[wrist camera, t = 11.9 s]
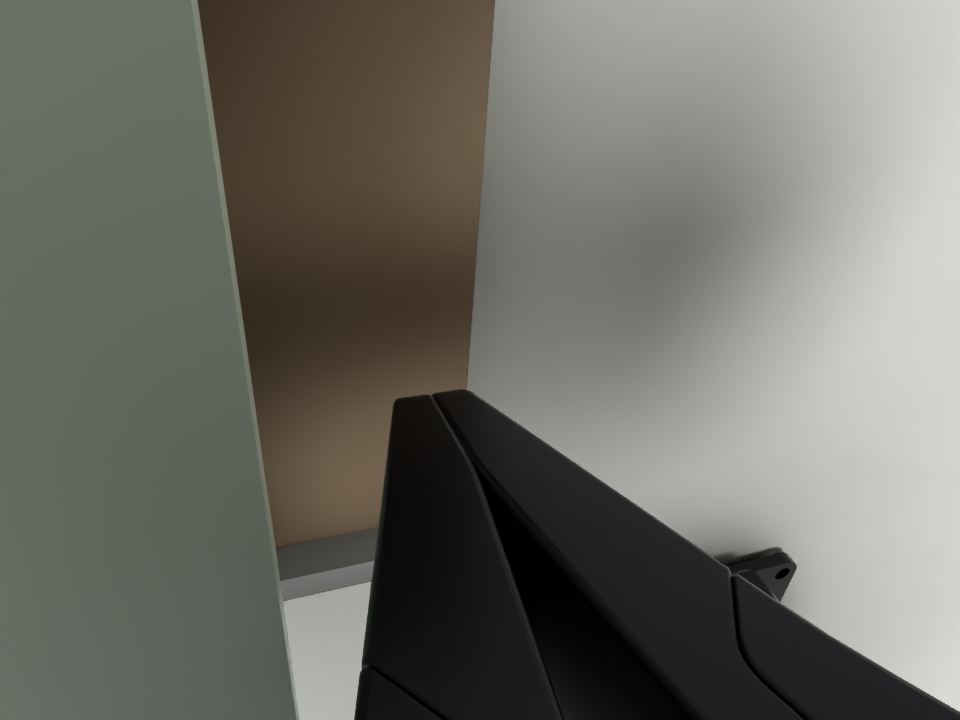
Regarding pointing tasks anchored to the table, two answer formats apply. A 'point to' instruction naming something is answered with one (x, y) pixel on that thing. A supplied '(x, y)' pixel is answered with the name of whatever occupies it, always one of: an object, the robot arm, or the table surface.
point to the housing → (126, 384)
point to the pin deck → (347, 241)
